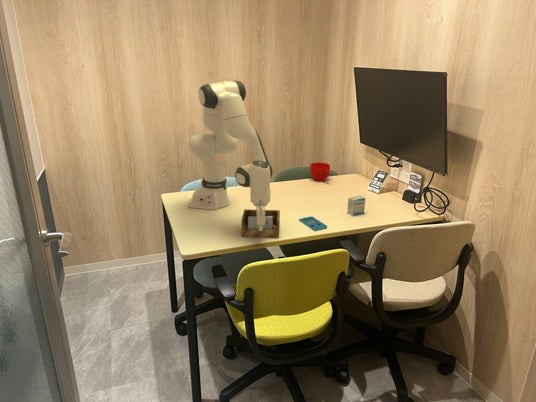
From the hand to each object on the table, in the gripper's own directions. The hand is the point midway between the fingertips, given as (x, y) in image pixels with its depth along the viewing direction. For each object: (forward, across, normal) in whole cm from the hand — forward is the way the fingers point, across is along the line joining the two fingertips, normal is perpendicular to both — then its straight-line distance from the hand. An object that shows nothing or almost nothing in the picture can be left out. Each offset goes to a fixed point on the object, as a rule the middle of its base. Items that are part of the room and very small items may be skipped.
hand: (260, 225), depth 180 cm
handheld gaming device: (+5, +12, -26) cm, 29 cm away
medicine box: (+5, +25, -50) cm, 56 cm away
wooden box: (+5, +5, 0) cm, 7 cm away
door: (+4, 0, 0) cm, 4 cm away
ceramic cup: (+5, +80, -41) cm, 90 cm away
